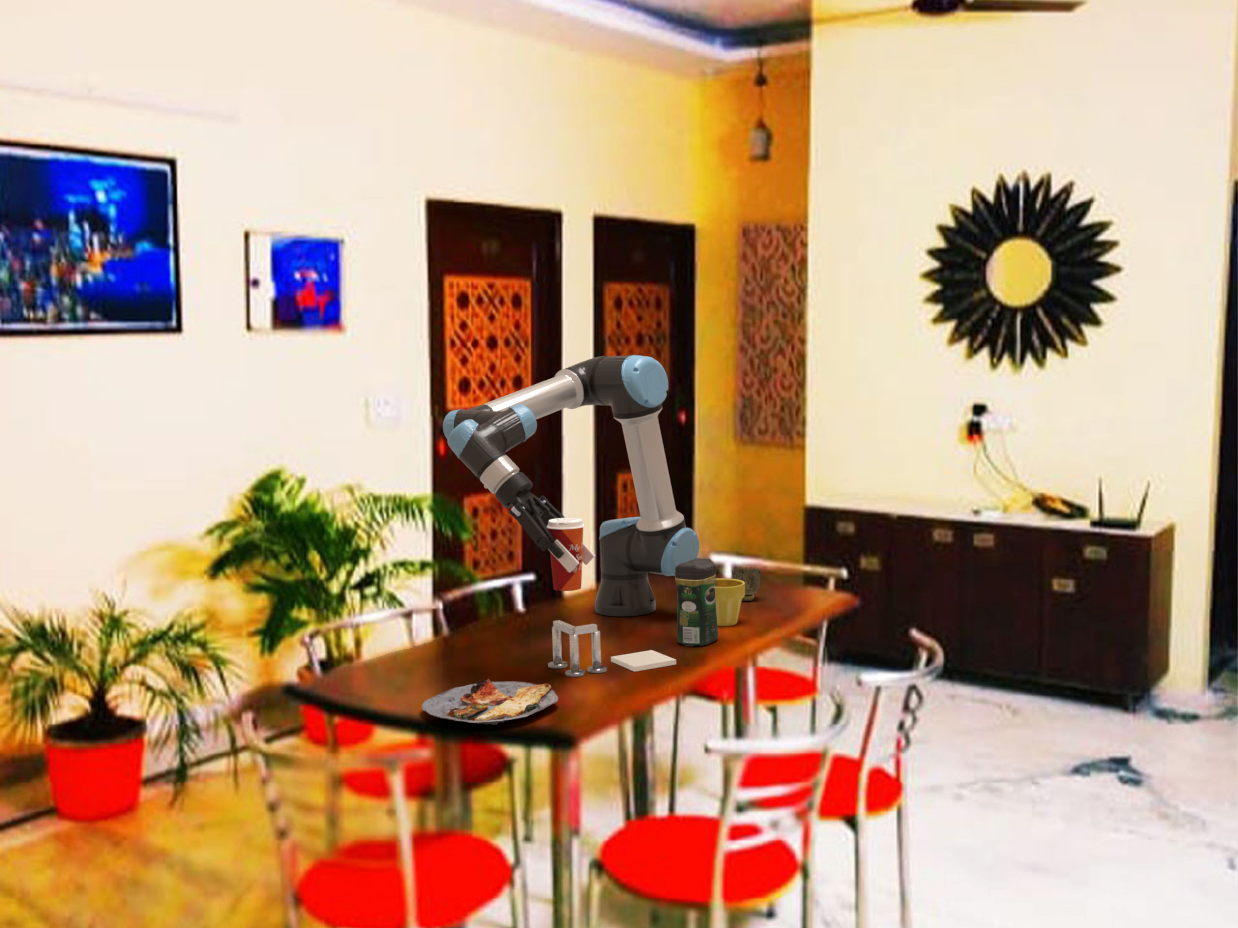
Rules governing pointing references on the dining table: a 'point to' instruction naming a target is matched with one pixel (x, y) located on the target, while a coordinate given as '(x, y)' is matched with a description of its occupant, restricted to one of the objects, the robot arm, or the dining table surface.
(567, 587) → the paper cup
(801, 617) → the dining table surface
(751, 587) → the cup
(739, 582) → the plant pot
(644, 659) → the cream tile
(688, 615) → the coffee jar
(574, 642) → the bent rail
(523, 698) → the food plate
